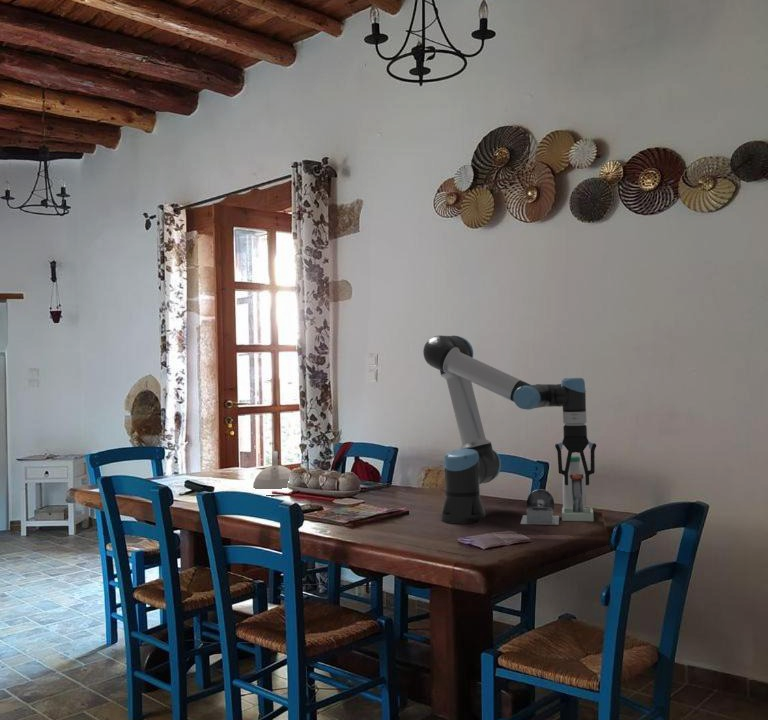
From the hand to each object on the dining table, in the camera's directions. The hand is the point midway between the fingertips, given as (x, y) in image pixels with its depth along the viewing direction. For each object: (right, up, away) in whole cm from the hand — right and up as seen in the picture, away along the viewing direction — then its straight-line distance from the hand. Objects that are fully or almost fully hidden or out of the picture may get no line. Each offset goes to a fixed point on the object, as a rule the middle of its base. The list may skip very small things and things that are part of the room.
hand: (577, 495), depth 265 cm
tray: (0, -9, 0) cm, 9 cm away
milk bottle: (+2, -9, +13) cm, 16 cm away
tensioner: (-12, -9, -1) cm, 16 cm away
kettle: (-110, -13, +81) cm, 138 cm away
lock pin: (0, -5, 0) cm, 5 cm away
